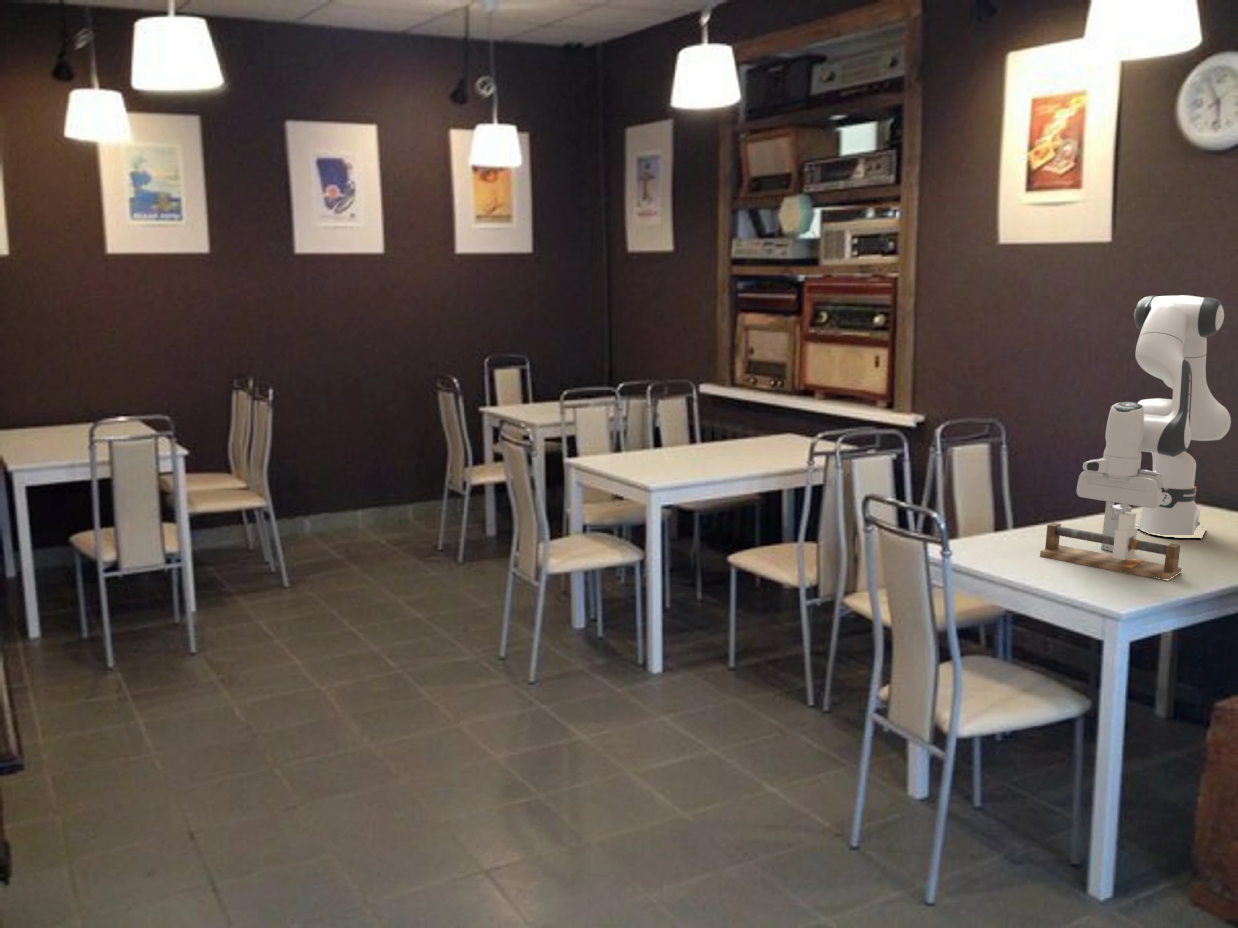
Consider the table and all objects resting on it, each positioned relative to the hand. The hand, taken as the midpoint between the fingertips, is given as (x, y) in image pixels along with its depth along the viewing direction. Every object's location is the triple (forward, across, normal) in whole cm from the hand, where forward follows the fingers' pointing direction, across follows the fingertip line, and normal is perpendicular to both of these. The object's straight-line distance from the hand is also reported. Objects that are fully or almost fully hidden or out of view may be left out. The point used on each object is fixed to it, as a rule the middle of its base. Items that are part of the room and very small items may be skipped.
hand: (1115, 519), depth 288 cm
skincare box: (+12, +6, -18) cm, 22 cm away
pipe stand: (+12, +1, 0) cm, 12 cm away
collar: (+9, -3, 0) cm, 10 cm away
